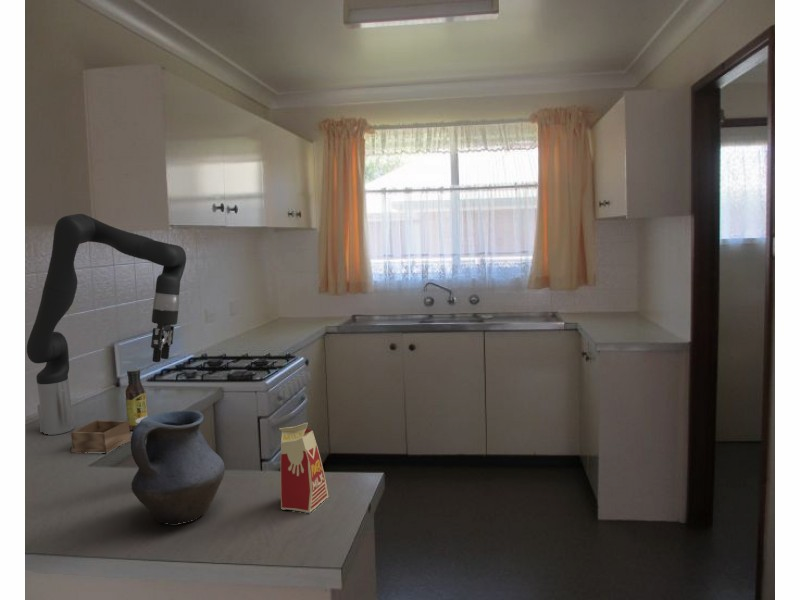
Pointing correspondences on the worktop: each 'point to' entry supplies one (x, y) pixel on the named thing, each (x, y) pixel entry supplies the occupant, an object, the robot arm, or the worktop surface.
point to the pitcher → (174, 466)
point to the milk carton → (301, 470)
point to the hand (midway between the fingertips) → (160, 360)
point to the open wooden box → (100, 436)
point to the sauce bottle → (135, 398)
